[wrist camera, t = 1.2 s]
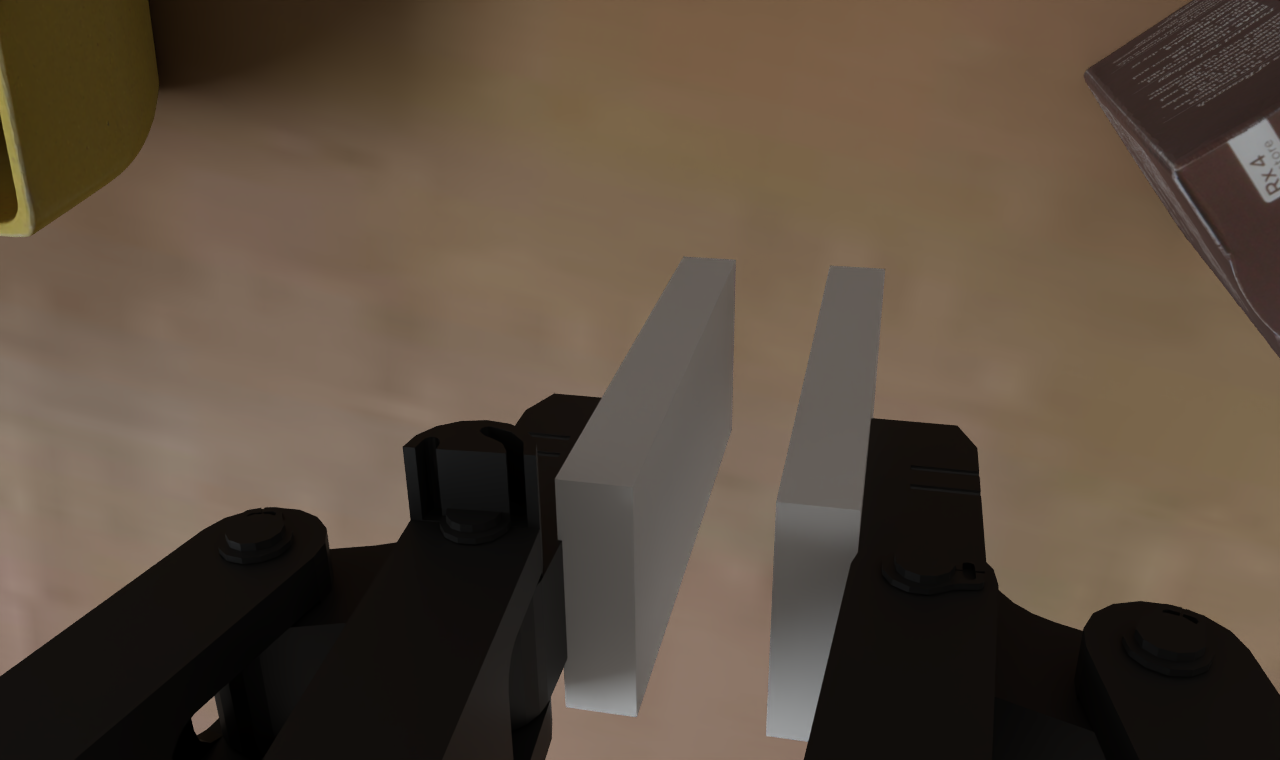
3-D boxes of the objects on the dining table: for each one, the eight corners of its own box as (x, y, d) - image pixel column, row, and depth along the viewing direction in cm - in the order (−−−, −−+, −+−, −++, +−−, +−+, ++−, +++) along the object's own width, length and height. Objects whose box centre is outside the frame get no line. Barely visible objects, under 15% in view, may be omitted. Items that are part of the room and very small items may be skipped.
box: (1350, 150, 31) (1570, 315, 20) (1187, 242, 33) (1310, 437, 22) (1236, -42, 30) (1407, 28, 19) (1073, 65, 32) (1146, 182, 21)
